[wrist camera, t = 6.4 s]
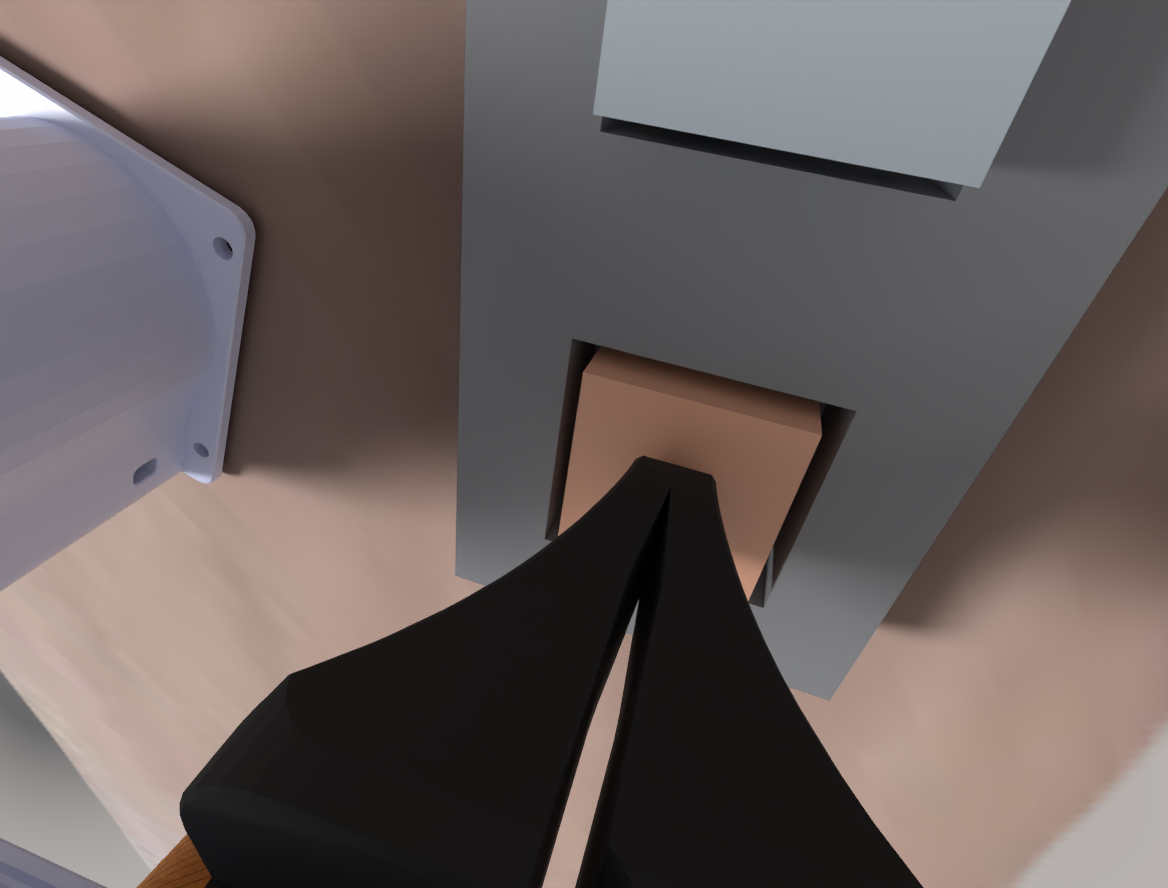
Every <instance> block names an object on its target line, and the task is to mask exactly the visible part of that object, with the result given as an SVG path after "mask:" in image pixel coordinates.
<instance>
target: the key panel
mask: <svg viewBox="0 0 1168 888" xmlns="http://www.w3.org/2000/svg"><path fill="white" fill-rule="evenodd" d="M607 1H608V0H466V25H465V80H464V134H463V188H462V242H461V296H460V350H459V404H458V459H457V513H456V567H455V576H458V577H461V578H464V579H467V580H470V581H473V582H476V583H479V584H482V585H485V586H487V585H488V584H490V583H492V582H494V581H495V580H497V579H499V578H500V577H502V576H503V575H505V574H507V573H508V572H510V571H511V570H513V569H514V568H516V567H517V566H519V565H520V564H522V563H523V562H525V561H526V560H527V559H529V558H530V557H532V556H533V555H535V554H536V553H537V552H539V551H540V550H541V549H543V548H544V547H545V546H547V545H548V544H549V543H551V542H552V541H553V540H554V539H556V538H557V537H558V532H559V526H560V519H561V513H562V506H563V500H564V493H565V487H566V480H567V474H568V467H569V461H570V454H571V448H572V441H573V435H574V428H575V422H576V415H577V409H578V402H579V396H580V389H581V383H582V376H583V372H584V370H585V369H586V367H587V366H588V364H589V363H590V361H591V360H592V358H593V357H594V355H595V354H596V352H597V351H598V349H599V348H600V346H604V347H608V348H611V349H615V350H619V351H623V352H627V353H631V354H635V355H639V356H643V357H647V358H651V359H655V360H658V361H662V362H666V363H670V364H674V365H678V366H682V367H686V368H690V369H694V370H698V371H702V372H705V373H709V374H713V375H717V376H721V377H725V378H729V379H733V380H737V381H741V382H745V383H748V384H752V385H756V386H760V387H764V388H768V389H772V390H776V391H780V392H784V393H788V394H792V395H795V396H799V397H803V398H807V399H811V400H815V401H819V405H820V416H821V428H822V437H821V439H820V441H819V444H818V446H817V448H816V450H815V452H814V455H813V457H812V459H811V461H810V464H809V466H808V468H807V470H806V473H805V475H804V477H803V479H802V482H801V484H800V486H799V488H798V491H797V493H796V495H795V497H794V500H793V502H792V504H791V506H790V509H789V511H788V513H787V515H786V518H785V520H784V522H783V524H782V527H781V529H780V531H779V533H778V536H777V538H776V540H775V542H774V545H773V547H772V549H771V551H770V554H769V556H768V558H767V560H766V563H765V565H764V567H763V569H762V572H761V574H760V576H759V578H758V581H757V583H756V585H755V587H754V590H753V592H752V594H751V596H750V599H749V601H748V602H749V605H750V607H751V610H752V612H753V615H754V617H755V619H756V622H757V624H758V626H759V629H760V631H761V633H762V635H763V638H764V640H765V642H766V644H767V646H768V648H769V650H770V652H771V654H772V656H773V658H774V660H775V662H776V664H777V667H778V669H779V670H780V672H781V674H782V676H783V678H784V680H785V682H786V684H787V685H788V687H790V688H793V689H796V690H799V691H802V692H805V693H808V694H811V695H814V696H817V697H820V698H823V699H826V700H830V699H831V697H832V696H833V694H834V693H835V691H836V690H837V688H838V687H839V685H840V684H841V682H842V681H843V679H844V678H845V676H846V675H847V673H848V672H849V670H850V669H851V667H852V666H853V664H854V663H855V661H856V659H857V658H858V656H859V655H860V653H861V652H862V650H863V649H864V647H865V646H866V644H867V643H868V641H869V640H870V638H871V637H872V635H873V634H874V632H875V631H876V629H877V628H878V626H879V625H880V623H881V622H882V620H883V618H884V617H885V615H886V614H887V612H888V611H889V609H890V608H891V606H892V605H893V603H894V602H895V600H896V599H897V597H898V596H899V594H900V593H901V591H902V590H903V588H904V587H905V585H906V584H907V582H908V580H909V579H910V577H911V576H912V574H913V573H914V571H915V570H916V568H917V567H918V565H919V564H920V562H921V561H922V559H923V558H924V556H925V555H926V553H927V552H928V550H929V549H930V547H931V546H932V544H933V543H934V541H935V539H936V538H937V536H938V535H939V533H940V532H941V530H942V529H943V527H944V526H945V524H946V523H947V521H948V520H949V518H950V517H951V515H952V514H953V512H954V511H955V509H956V508H957V506H958V505H959V503H960V501H961V500H962V498H963V497H964V495H965V494H966V492H967V491H968V489H969V488H970V486H971V485H972V483H973V482H974V480H975V479H976V477H977V476H978V474H979V473H980V471H981V470H982V468H983V467H984V465H985V464H986V462H987V460H988V459H989V457H990V456H991V454H992V453H993V451H994V450H995V448H996V447H997V445H998V444H999V442H1000V441H1001V439H1002V438H1003V436H1004V435H1005V433H1006V432H1007V430H1008V429H1009V427H1010V426H1011V424H1012V423H1013V421H1014V419H1015V418H1016V416H1017V415H1018V413H1019V412H1020V410H1021V409H1022V407H1023V406H1024V404H1025V403H1026V401H1027V400H1028V398H1029V397H1030V395H1031V394H1032V392H1033V391H1034V389H1035V388H1036V386H1037V385H1038V383H1039V381H1040V380H1041V378H1042V377H1043V375H1044V374H1045V372H1046V371H1047V369H1048V368H1049V366H1050V365H1051V363H1052V362H1053V360H1054V359H1055V357H1056V356H1057V354H1058V353H1059V351H1060V350H1061V348H1062V347H1063V345H1064V344H1065V342H1066V340H1067V339H1068V337H1069V336H1070V334H1071V333H1072V331H1073V330H1074V328H1075V327H1076V325H1077V324H1078V322H1079V321H1080V319H1081V318H1082V316H1083V315H1084V313H1085V312H1086V310H1087V309H1088V307H1089V306H1090V304H1091V303H1092V301H1093V299H1094V298H1095V296H1096V295H1097V293H1098V292H1099V290H1100V289H1101V287H1102V286H1103V284H1104V283H1105V281H1106V280H1107V278H1108V277H1109V275H1110V274H1111V272H1112V271H1113V269H1114V268H1115V266H1116V265H1117V263H1118V261H1119V260H1120V258H1121V257H1122V255H1123V254H1124V252H1125V251H1126V249H1127V248H1128V246H1129V245H1130V243H1131V242H1132V240H1133V239H1134V237H1135V236H1136V234H1137V233H1138V231H1139V230H1140V228H1141V227H1142V225H1143V224H1144V222H1145V220H1146V219H1147V217H1148V216H1149V214H1150V213H1151V211H1152V210H1153V208H1154V207H1155V205H1156V204H1157V202H1158V201H1159V199H1160V198H1161V196H1162V195H1163V193H1164V192H1165V190H1166V189H1167V187H1168V0H1071V2H1070V4H1069V6H1068V8H1067V10H1066V12H1065V14H1064V16H1063V18H1062V20H1061V22H1060V24H1059V26H1058V28H1057V30H1056V32H1055V34H1054V37H1053V39H1052V41H1051V43H1050V45H1049V47H1048V49H1047V51H1046V53H1045V55H1044V57H1043V59H1042V61H1041V63H1040V65H1039V67H1038V69H1037V71H1036V73H1035V75H1034V77H1033V80H1032V82H1031V84H1030V86H1029V88H1028V90H1027V92H1026V94H1025V96H1024V98H1023V100H1022V102H1021V104H1020V106H1019V108H1018V110H1017V112H1016V114H1015V116H1014V118H1013V121H1012V123H1011V125H1010V127H1009V129H1008V131H1007V133H1006V135H1005V137H1004V139H1003V141H1002V143H1001V145H1000V147H999V149H998V151H997V153H996V155H995V157H994V159H993V161H992V164H991V166H990V168H989V170H988V172H987V174H986V176H985V178H984V180H983V182H982V184H981V186H980V188H976V187H971V186H966V185H961V184H955V183H950V182H945V181H940V180H934V179H929V178H924V177H919V176H913V175H908V174H903V173H898V172H892V171H887V170H882V169H877V168H871V167H866V166H861V165H856V164H850V163H845V162H840V161H835V160H830V159H824V158H819V157H814V156H809V155H803V154H798V153H793V152H788V151H782V150H777V149H772V148H767V147H761V146H756V145H751V144H746V143H740V142H735V141H730V140H725V139H719V138H714V137H709V136H704V135H698V134H693V133H688V132H683V131H677V130H672V129H667V128H662V127H656V126H651V125H646V124H641V123H636V122H630V121H625V120H620V119H615V118H609V117H604V116H599V115H594V114H593V110H594V103H595V95H596V87H597V79H598V71H599V64H600V56H601V48H602V40H603V32H604V25H605V17H606V9H607ZM638 602H639V600H638ZM637 608H638V603H637V605H636V608H635V610H634V613H633V615H632V618H631V620H630V623H629V625H628V628H627V631H626V633H629V634H632V635H633V631H634V626H635V620H636V614H637Z"/></svg>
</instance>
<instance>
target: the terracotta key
mask: <svg viewBox="0 0 1168 888" xmlns="http://www.w3.org/2000/svg"><path fill="white" fill-rule="evenodd" d="M821 437H822V428H821V416H820V405H819V401H815V400H811V399H807V398H803V397H799V396H795V395H792V394H788V393H784V392H780V391H776V390H772V389H768V388H764V387H760V386H756V385H752V384H748V383H745V382H741V381H737V380H733V379H729V378H725V377H721V376H717V375H713V374H709V373H705V372H702V371H698V370H694V369H690V368H686V367H682V366H678V365H674V364H670V363H666V362H662V361H658V360H655V359H651V358H647V357H643V356H639V355H635V354H631V353H627V352H623V351H619V350H615V349H611V348H608V347H604V346H600V348H599V349H598V351H597V352H596V354H595V355H594V357H593V358H592V360H591V361H590V363H589V364H588V366H587V367H586V369H585V370H584V372H583V376H582V383H581V389H580V396H579V402H578V409H577V415H576V422H575V428H574V435H573V441H572V448H571V454H570V461H569V467H568V474H567V480H566V487H565V493H564V500H563V506H562V513H561V519H560V526H559V532H558V536H559V535H560V534H562V533H563V532H564V531H565V530H567V529H568V528H569V527H570V526H571V525H573V524H574V523H575V522H576V521H578V520H579V519H580V518H581V517H582V516H583V515H584V514H585V513H586V512H587V511H589V510H590V509H591V508H592V507H593V506H594V505H595V504H596V503H597V502H598V501H599V500H600V499H601V498H602V497H603V496H604V495H605V494H606V493H607V492H608V491H609V490H610V489H611V488H612V487H613V486H614V485H615V484H616V483H617V482H618V481H619V480H620V478H621V477H622V476H623V475H624V474H625V473H626V471H627V470H628V469H629V468H630V466H631V465H632V463H633V462H634V460H635V459H636V458H639V457H641V456H647V457H650V458H654V459H657V460H661V461H664V462H668V463H672V464H675V465H679V466H682V467H686V468H689V469H693V470H697V471H700V472H704V473H707V474H711V475H712V476H713V478H714V479H715V481H716V488H717V496H718V502H719V507H720V512H721V517H722V521H723V525H724V529H725V533H726V537H727V540H728V544H729V547H730V550H731V553H732V557H733V560H734V563H735V566H736V569H737V572H738V575H739V578H740V581H741V584H742V587H743V589H744V592H745V594H746V597H747V599H748V601H749V599H750V596H751V594H752V592H753V590H754V587H755V585H756V583H757V581H758V578H759V576H760V574H761V572H762V569H763V567H764V565H765V563H766V560H767V558H768V556H769V554H770V551H771V549H772V547H773V545H774V542H775V540H776V538H777V536H778V533H779V531H780V529H781V527H782V524H783V522H784V520H785V518H786V515H787V513H788V511H789V509H790V506H791V504H792V502H793V500H794V497H795V495H796V493H797V491H798V488H799V486H800V484H801V482H802V479H803V477H804V475H805V473H806V470H807V468H808V466H809V464H810V461H811V459H812V457H813V455H814V452H815V450H816V448H817V446H818V444H819V441H820V439H821Z"/></svg>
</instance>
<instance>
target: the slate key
mask: <svg viewBox="0 0 1168 888" xmlns="http://www.w3.org/2000/svg"><path fill="white" fill-rule="evenodd" d="M1070 2H1071V0H608V1H607V9H606V17H605V25H604V32H603V40H602V48H601V56H600V64H599V71H598V79H597V87H596V95H595V103H594V110H593V114H594V115H599V116H604V117H609V118H615V119H620V120H625V121H630V122H636V123H641V124H646V125H651V126H656V127H662V128H667V129H672V130H677V131H683V132H688V133H693V134H698V135H704V136H709V137H714V138H719V139H725V140H730V141H735V142H740V143H746V144H751V145H756V146H761V147H767V148H772V149H777V150H782V151H788V152H793V153H798V154H803V155H809V156H814V157H819V158H824V159H830V160H835V161H840V162H845V163H850V164H856V165H861V166H866V167H871V168H877V169H882V170H887V171H892V172H898V173H903V174H908V175H913V176H919V177H924V178H929V179H934V180H940V181H945V182H950V183H955V184H961V185H966V186H971V187H976V188H980V186H981V184H982V182H983V180H984V178H985V176H986V174H987V172H988V170H989V168H990V166H991V164H992V161H993V159H994V157H995V155H996V153H997V151H998V149H999V147H1000V145H1001V143H1002V141H1003V139H1004V137H1005V135H1006V133H1007V131H1008V129H1009V127H1010V125H1011V123H1012V121H1013V118H1014V116H1015V114H1016V112H1017V110H1018V108H1019V106H1020V104H1021V102H1022V100H1023V98H1024V96H1025V94H1026V92H1027V90H1028V88H1029V86H1030V84H1031V82H1032V80H1033V77H1034V75H1035V73H1036V71H1037V69H1038V67H1039V65H1040V63H1041V61H1042V59H1043V57H1044V55H1045V53H1046V51H1047V49H1048V47H1049V45H1050V43H1051V41H1052V39H1053V37H1054V34H1055V32H1056V30H1057V28H1058V26H1059V24H1060V22H1061V20H1062V18H1063V16H1064V14H1065V12H1066V10H1067V8H1068V6H1069V4H1070Z"/></svg>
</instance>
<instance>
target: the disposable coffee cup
mask: <svg viewBox="0 0 1168 888" xmlns="http://www.w3.org/2000/svg"><path fill="white" fill-rule="evenodd" d="M210 879H211V875H210V873H209V871H208V870H207V868H206V866H205V864H204V863H203V861H202V859H201V857H200V855H199V854H198V852H197V850H196V848H195V846H194V845H193V843H192V841H191V839H190V838H189V836H188V834H187V835H186V836H185V837H184V838H183V839H182V840H181V841H180V842H179V843H178V844H177V845H176V846H175V847H174V848H173V850H172V851H171V852H170V853H169V854H168V855H167V856H166V857H165V858H164V859H163V860H162V861H161V862H160V863H159V864H158V865H157V867H156V868H155V869H154V870H153V871H152V872H151V873H150V874H149V875H148V876H147V877H146V878H145V880H144V881H143V882H142V883H141V884H140V885H139V886H138V887H137V888H204V887H205V886H206V884H207V883H208V882H209V880H210Z"/></svg>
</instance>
